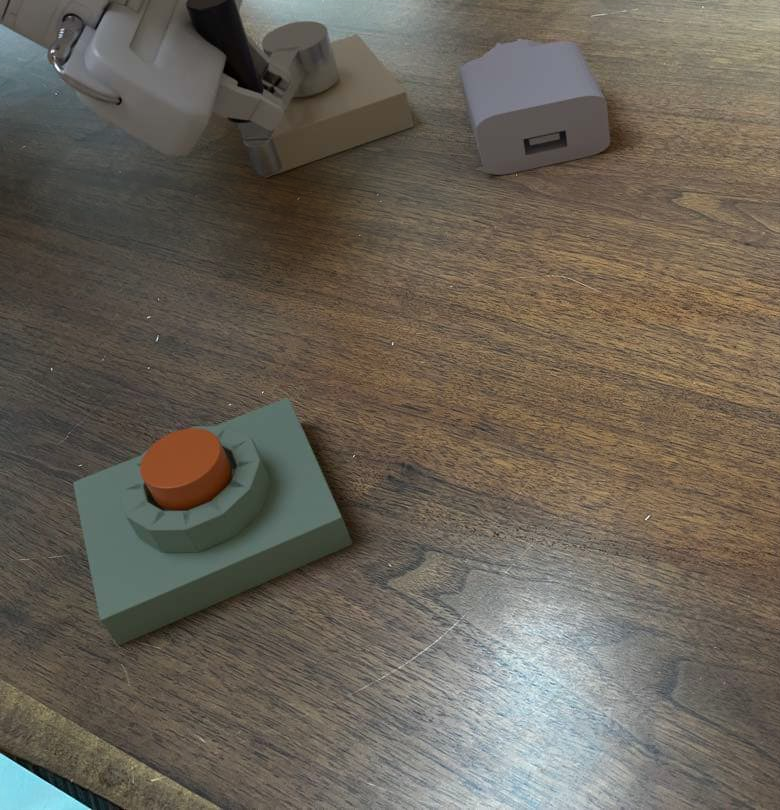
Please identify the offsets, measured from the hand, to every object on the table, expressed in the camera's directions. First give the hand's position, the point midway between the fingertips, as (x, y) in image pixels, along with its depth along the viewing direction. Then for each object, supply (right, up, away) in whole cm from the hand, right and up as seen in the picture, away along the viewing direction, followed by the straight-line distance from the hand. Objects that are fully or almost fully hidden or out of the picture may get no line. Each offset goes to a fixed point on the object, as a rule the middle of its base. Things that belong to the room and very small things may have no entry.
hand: (283, 102), depth 74 cm
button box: (0, -27, -17) cm, 32 cm away
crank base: (0, +2, +13) cm, 13 cm away
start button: (0, -24, -19) cm, 31 cm away
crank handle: (-1, 0, +8) cm, 8 cm away
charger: (+17, +1, +9) cm, 19 cm away
